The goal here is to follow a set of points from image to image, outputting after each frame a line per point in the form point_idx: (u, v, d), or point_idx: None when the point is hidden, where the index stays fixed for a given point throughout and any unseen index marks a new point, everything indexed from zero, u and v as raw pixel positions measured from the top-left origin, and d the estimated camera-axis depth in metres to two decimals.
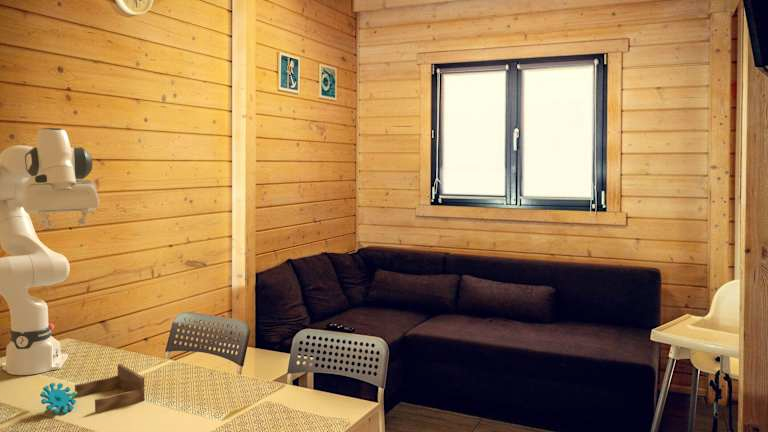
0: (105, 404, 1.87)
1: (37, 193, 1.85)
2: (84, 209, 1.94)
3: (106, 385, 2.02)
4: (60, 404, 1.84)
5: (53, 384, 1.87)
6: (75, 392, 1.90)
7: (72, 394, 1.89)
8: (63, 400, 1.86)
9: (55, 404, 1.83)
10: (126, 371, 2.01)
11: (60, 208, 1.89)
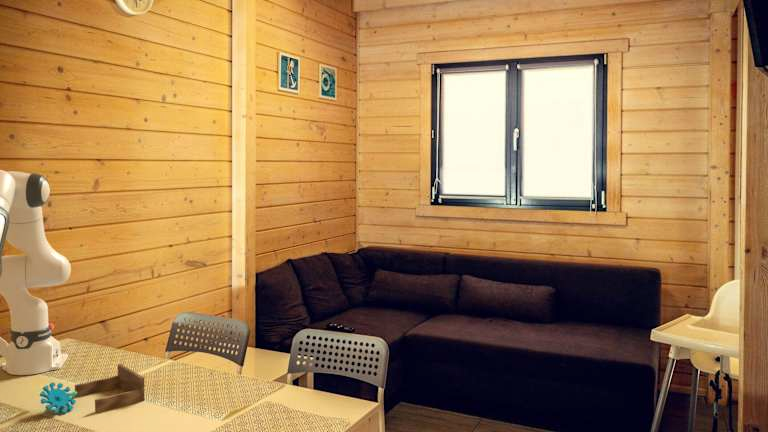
0: (105, 404, 1.87)
1: None
2: None
3: (106, 385, 2.02)
4: (59, 404, 1.84)
5: (53, 384, 1.87)
6: (75, 392, 1.90)
7: (72, 394, 1.89)
8: (63, 400, 1.86)
9: (54, 404, 1.83)
10: (126, 371, 2.01)
11: None
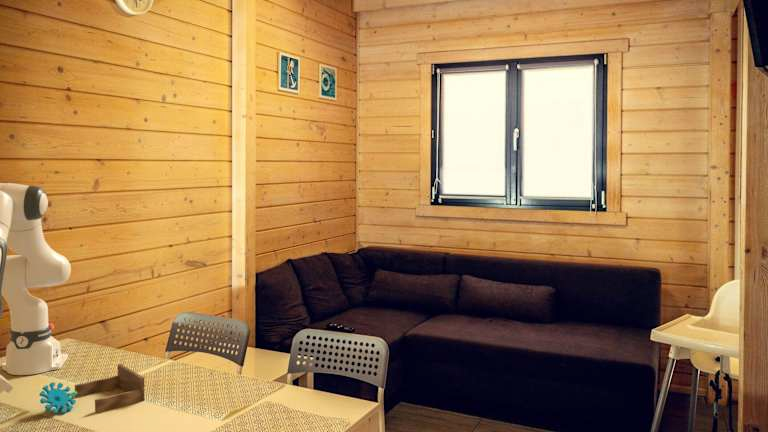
0: (105, 404, 1.87)
1: None
2: None
3: (106, 385, 2.02)
4: (59, 404, 1.84)
5: (53, 384, 1.87)
6: (75, 392, 1.90)
7: (72, 394, 1.89)
8: (62, 400, 1.86)
9: (54, 404, 1.83)
10: (126, 371, 2.01)
11: None
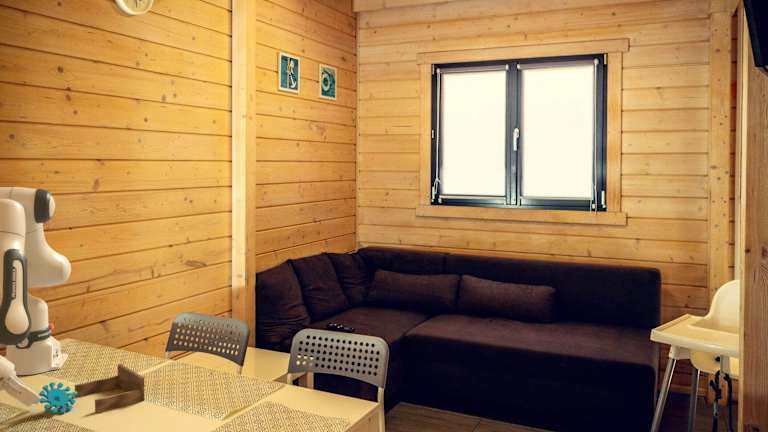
0: (105, 404, 1.87)
1: None
2: None
3: (106, 385, 2.02)
4: (59, 404, 1.84)
5: (53, 383, 1.87)
6: (75, 392, 1.90)
7: (72, 394, 1.89)
8: (62, 400, 1.86)
9: (53, 404, 1.83)
10: (126, 371, 2.01)
11: None
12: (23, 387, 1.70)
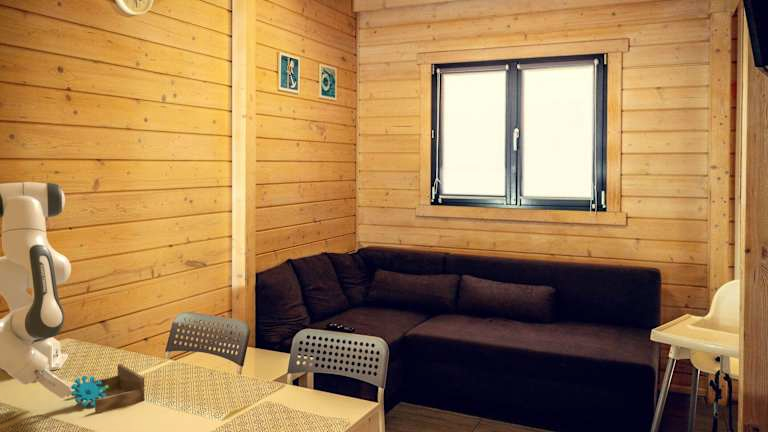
0: (105, 404, 1.87)
1: None
2: None
3: None
4: (89, 397, 1.89)
5: (85, 377, 1.93)
6: (106, 386, 1.95)
7: (103, 388, 1.94)
8: (93, 393, 1.91)
9: (84, 397, 1.88)
10: (126, 371, 2.01)
11: None
12: (57, 379, 1.76)
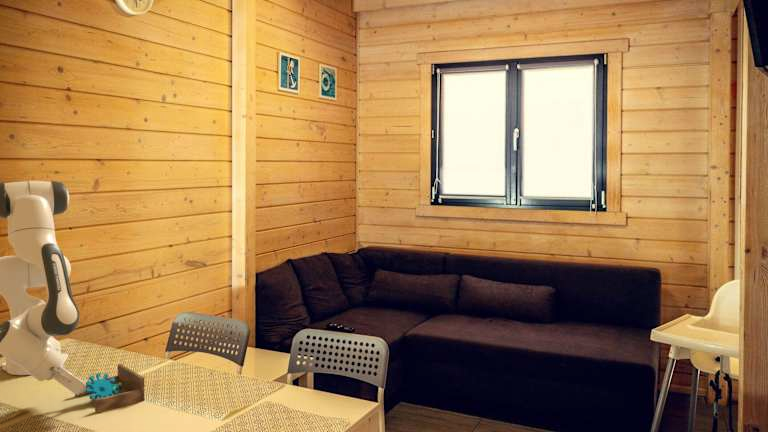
0: (105, 404, 1.87)
1: None
2: None
3: None
4: (103, 394, 1.92)
5: (99, 374, 1.96)
6: (120, 383, 1.98)
7: (116, 385, 1.97)
8: (107, 390, 1.94)
9: (98, 394, 1.91)
10: (126, 371, 2.01)
11: None
12: (72, 376, 1.79)
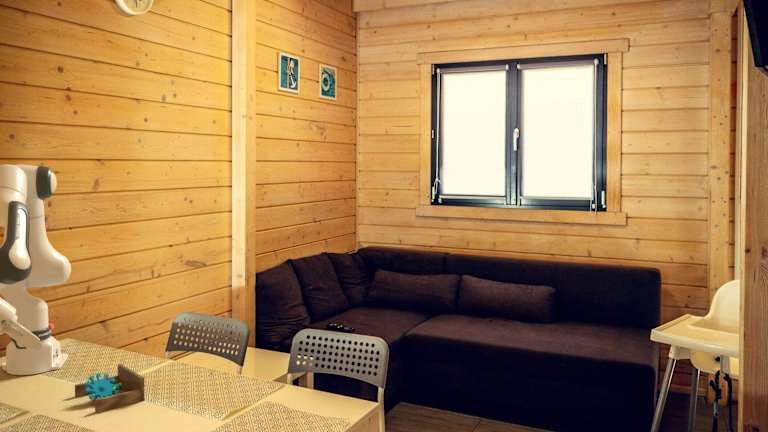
0: (105, 404, 1.87)
1: None
2: None
3: None
4: (103, 394, 1.92)
5: (99, 374, 1.96)
6: (120, 383, 1.98)
7: (116, 385, 1.97)
8: (106, 390, 1.94)
9: (98, 394, 1.91)
10: (126, 371, 2.01)
11: None
12: (25, 330, 1.69)
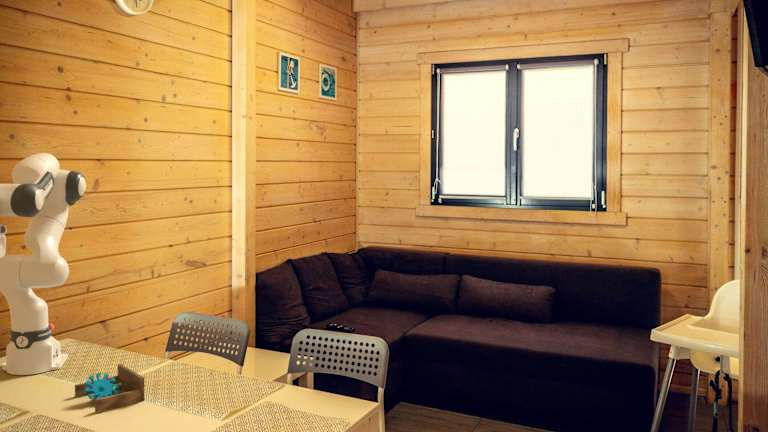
0: (105, 404, 1.87)
1: None
2: None
3: None
4: (102, 394, 1.92)
5: (99, 374, 1.96)
6: (120, 383, 1.98)
7: (116, 385, 1.97)
8: (106, 390, 1.94)
9: (97, 393, 1.91)
10: (126, 371, 2.01)
11: None
12: None
